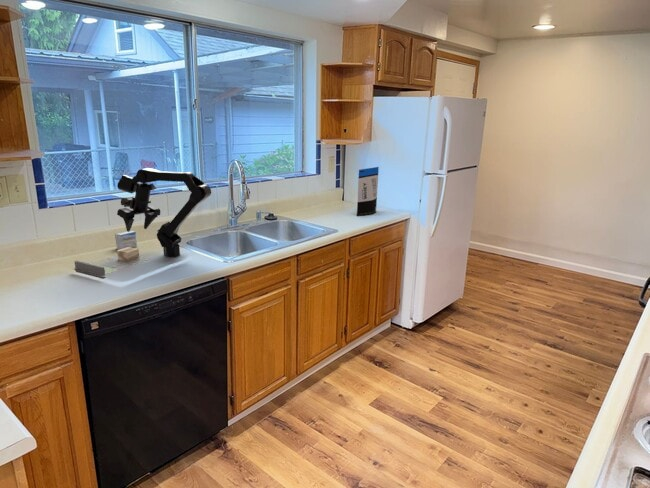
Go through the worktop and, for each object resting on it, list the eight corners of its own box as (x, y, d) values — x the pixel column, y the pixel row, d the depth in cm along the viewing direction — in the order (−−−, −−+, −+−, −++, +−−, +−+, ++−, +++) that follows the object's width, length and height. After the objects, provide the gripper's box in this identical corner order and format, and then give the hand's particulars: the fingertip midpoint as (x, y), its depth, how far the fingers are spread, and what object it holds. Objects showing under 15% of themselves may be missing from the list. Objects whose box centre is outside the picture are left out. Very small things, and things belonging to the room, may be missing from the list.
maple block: (139, 257, 192) (138, 249, 190) (127, 261, 186) (127, 252, 185) (129, 255, 194) (128, 246, 193) (118, 259, 189) (116, 250, 188)
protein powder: (382, 211, 303) (384, 167, 295) (362, 217, 284) (365, 170, 276) (370, 209, 309) (372, 166, 300) (350, 215, 290) (352, 169, 282)
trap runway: (151, 261, 192) (150, 251, 190) (103, 278, 171) (101, 267, 170) (125, 255, 198) (124, 246, 197) (75, 271, 178) (74, 261, 176)
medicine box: (122, 253, 202) (120, 235, 199) (116, 251, 204) (114, 233, 201) (137, 249, 208) (136, 231, 206) (131, 247, 210) (129, 230, 208)
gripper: (146, 189, 202) (140, 221, 206) (110, 191, 185) (105, 225, 190) (164, 197, 198) (158, 230, 203) (129, 200, 181) (123, 235, 186)
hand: (136, 230), depth 195 cm, fingers open, 9 cm apart
